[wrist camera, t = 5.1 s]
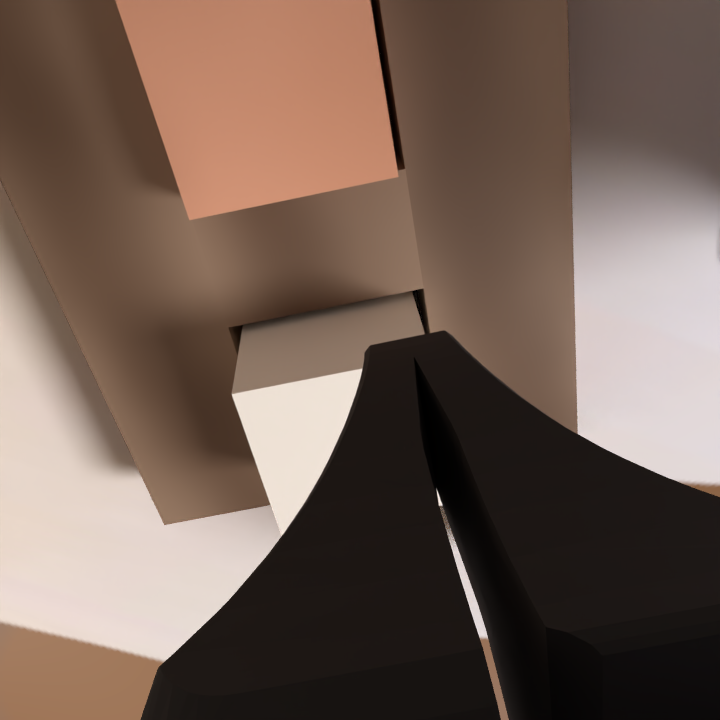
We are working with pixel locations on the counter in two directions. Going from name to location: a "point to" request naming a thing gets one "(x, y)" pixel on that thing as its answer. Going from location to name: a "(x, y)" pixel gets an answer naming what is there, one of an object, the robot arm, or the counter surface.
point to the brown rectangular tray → (294, 224)
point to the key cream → (308, 388)
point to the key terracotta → (263, 97)
